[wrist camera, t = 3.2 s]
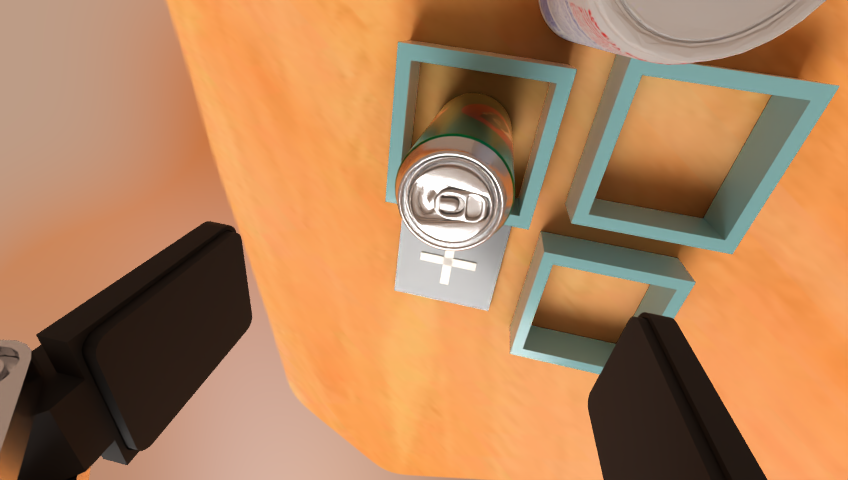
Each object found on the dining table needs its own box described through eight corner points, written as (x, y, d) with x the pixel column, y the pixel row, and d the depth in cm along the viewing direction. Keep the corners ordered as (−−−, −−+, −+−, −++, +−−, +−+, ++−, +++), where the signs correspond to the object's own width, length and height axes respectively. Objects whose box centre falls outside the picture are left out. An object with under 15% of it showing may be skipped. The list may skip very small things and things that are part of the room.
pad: (511, 222, 28) (511, 227, 27) (488, 306, 32) (488, 311, 31) (405, 202, 29) (403, 205, 28) (396, 286, 33) (394, 290, 32)
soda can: (437, 88, 24) (387, 134, 14) (517, 94, 24) (526, 147, 13) (433, 164, 27) (388, 250, 17) (505, 172, 26) (505, 267, 16)
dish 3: (798, 78, 21) (839, 85, 18) (709, 231, 26) (732, 254, 23) (617, 51, 22) (632, 55, 19) (564, 204, 27) (571, 223, 24)
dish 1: (568, 64, 22) (576, 69, 20) (526, 210, 27) (528, 229, 25) (410, 40, 23) (398, 42, 21) (396, 185, 28) (385, 201, 26)
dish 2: (677, 257, 27) (695, 282, 24) (624, 353, 32) (634, 382, 29) (540, 231, 28) (544, 252, 25) (509, 327, 33) (509, 353, 30)
